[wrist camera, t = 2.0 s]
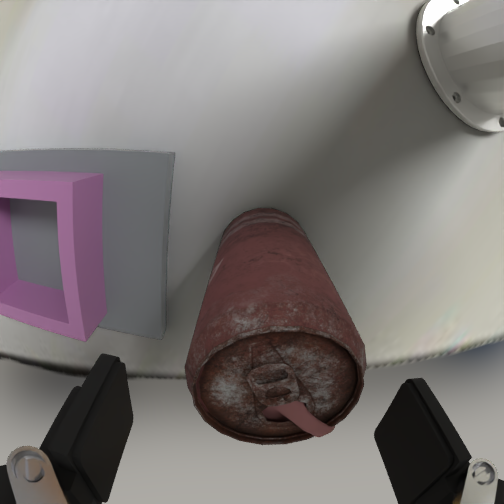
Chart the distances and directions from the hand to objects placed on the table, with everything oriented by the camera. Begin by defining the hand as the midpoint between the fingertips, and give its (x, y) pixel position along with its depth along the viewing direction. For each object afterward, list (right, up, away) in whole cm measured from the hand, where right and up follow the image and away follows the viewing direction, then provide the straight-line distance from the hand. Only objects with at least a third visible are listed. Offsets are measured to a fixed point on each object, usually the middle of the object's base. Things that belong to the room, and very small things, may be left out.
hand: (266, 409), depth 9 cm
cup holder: (-16, +6, +12) cm, 22 cm away
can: (+1, +5, +13) cm, 14 cm away
